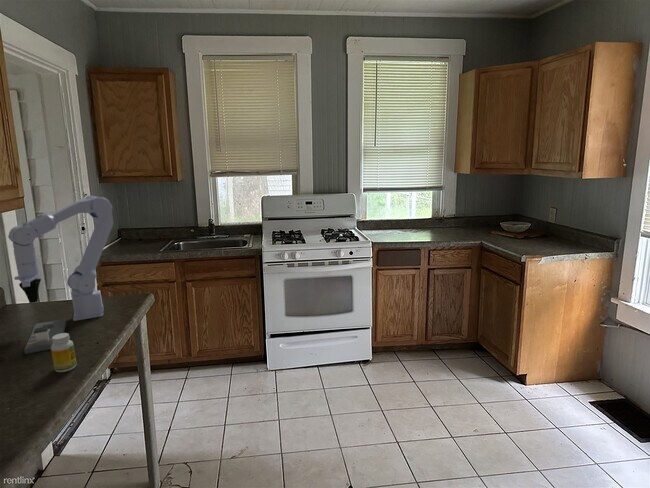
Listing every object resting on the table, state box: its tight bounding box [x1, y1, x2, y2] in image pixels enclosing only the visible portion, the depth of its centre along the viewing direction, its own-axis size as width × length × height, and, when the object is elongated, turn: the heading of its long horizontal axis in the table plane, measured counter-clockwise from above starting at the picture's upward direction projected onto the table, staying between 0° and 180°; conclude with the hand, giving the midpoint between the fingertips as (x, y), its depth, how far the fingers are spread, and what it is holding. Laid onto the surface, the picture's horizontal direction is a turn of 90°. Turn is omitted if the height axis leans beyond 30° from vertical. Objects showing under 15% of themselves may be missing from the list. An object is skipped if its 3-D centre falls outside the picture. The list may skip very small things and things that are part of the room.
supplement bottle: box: [50, 332, 78, 373], centre depth 120 cm, size 5×5×10 cm
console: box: [23, 318, 68, 355], centre depth 142 cm, size 9×22×3 cm, turn 25°
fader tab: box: [34, 327, 49, 342], centre depth 134 cm, size 3×3×4 cm
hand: (33, 301), depth 146 cm, fingers closed
